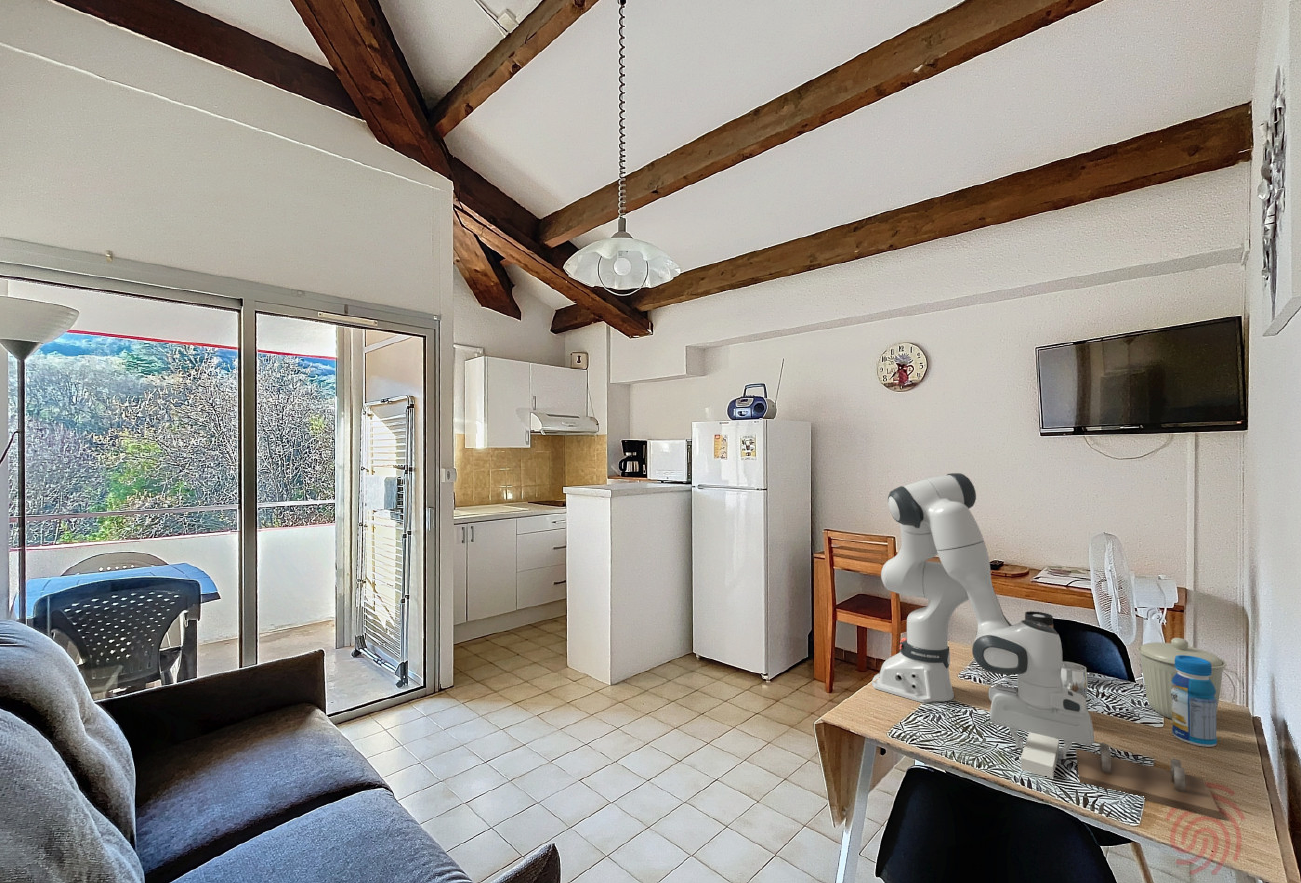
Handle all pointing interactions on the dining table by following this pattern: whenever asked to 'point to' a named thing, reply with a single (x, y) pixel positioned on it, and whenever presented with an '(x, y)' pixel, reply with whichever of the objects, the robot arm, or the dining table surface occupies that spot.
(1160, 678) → the canister
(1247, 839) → the dining table surface
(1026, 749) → the shelf board
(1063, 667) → the beer glass
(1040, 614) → the travel mug
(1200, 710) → the beverage bottle
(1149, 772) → the peg stand
